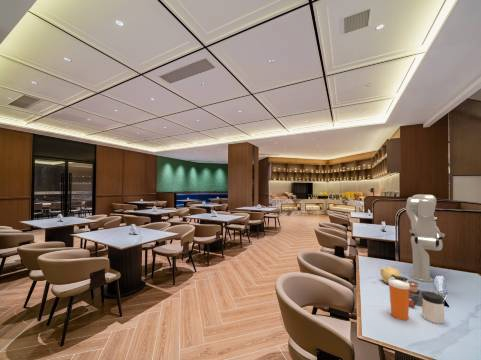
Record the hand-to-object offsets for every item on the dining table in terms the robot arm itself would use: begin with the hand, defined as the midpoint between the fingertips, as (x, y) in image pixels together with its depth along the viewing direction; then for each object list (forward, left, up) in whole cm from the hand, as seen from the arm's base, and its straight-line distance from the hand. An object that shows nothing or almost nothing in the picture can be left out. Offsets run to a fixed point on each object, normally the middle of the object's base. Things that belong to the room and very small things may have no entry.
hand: (426, 245), depth 134 cm
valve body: (+21, -5, -31) cm, 38 cm away
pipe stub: (+18, -5, -30) cm, 36 cm away
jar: (+34, +5, -31) cm, 46 cm away
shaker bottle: (+44, -7, -31) cm, 54 cm away
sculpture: (+1, -19, -31) cm, 36 cm away
